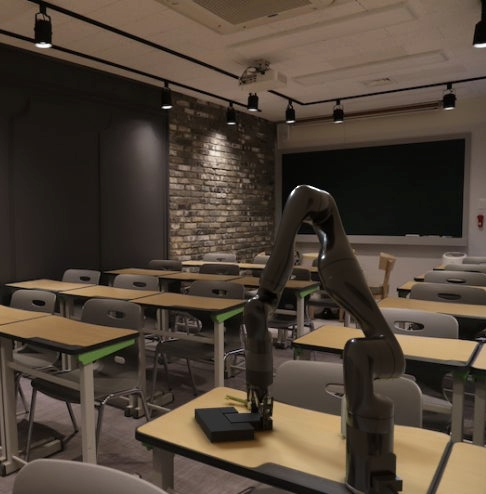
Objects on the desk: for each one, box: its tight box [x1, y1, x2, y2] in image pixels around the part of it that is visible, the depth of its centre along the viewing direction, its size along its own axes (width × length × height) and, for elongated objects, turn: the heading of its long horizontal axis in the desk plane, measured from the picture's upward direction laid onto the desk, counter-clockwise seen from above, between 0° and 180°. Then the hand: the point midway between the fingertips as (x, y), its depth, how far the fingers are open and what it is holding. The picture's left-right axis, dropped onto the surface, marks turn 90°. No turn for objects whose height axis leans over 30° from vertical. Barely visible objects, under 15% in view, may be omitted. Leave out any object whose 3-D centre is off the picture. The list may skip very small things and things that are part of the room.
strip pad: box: [224, 411, 274, 432], centre depth 138 cm, size 6×12×3 cm, turn 96°
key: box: [224, 394, 263, 411], centre depth 154 cm, size 7×12×2 cm, turn 77°
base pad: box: [194, 406, 256, 444], centre depth 137 cm, size 16×12×3 cm
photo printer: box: [340, 394, 346, 438], centre depth 133 cm, size 10×4×12 cm, turn 123°
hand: (259, 424), depth 139 cm, fingers closed on strip pad, 6 cm apart
